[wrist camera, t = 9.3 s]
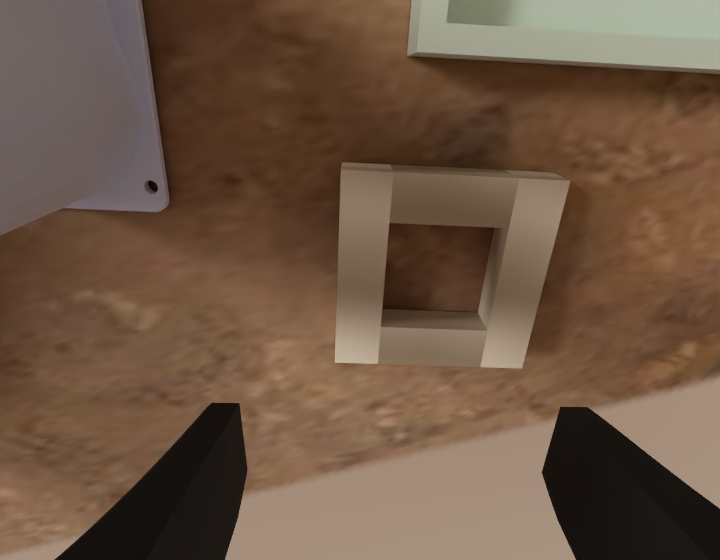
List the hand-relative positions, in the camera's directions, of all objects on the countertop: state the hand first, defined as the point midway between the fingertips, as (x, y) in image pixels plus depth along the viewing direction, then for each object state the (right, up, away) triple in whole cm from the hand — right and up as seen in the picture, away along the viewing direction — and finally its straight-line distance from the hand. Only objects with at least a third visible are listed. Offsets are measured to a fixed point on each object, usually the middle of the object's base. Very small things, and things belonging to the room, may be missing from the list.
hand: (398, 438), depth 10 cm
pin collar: (+2, +4, +9) cm, 10 cm away
